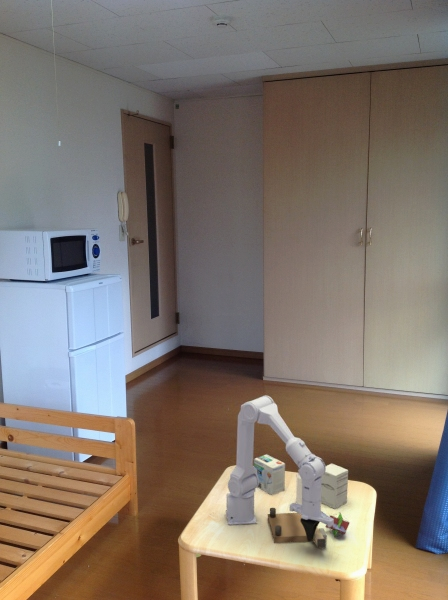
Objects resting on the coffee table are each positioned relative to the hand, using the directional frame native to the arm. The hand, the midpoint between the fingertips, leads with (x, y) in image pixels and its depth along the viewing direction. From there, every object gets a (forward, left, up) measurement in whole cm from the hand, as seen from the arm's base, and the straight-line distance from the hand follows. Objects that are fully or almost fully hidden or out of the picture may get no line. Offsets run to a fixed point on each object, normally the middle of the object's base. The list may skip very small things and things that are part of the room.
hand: (310, 539), depth 172 cm
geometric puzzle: (+11, +8, -3) cm, 14 cm away
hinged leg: (+2, +2, -1) cm, 3 cm away
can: (+5, +28, -3) cm, 28 cm away
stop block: (+4, +2, -3) cm, 6 cm away
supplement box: (+15, +28, -3) cm, 32 cm away
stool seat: (-3, +11, -3) cm, 12 cm away
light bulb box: (-6, +41, -4) cm, 42 cm away
